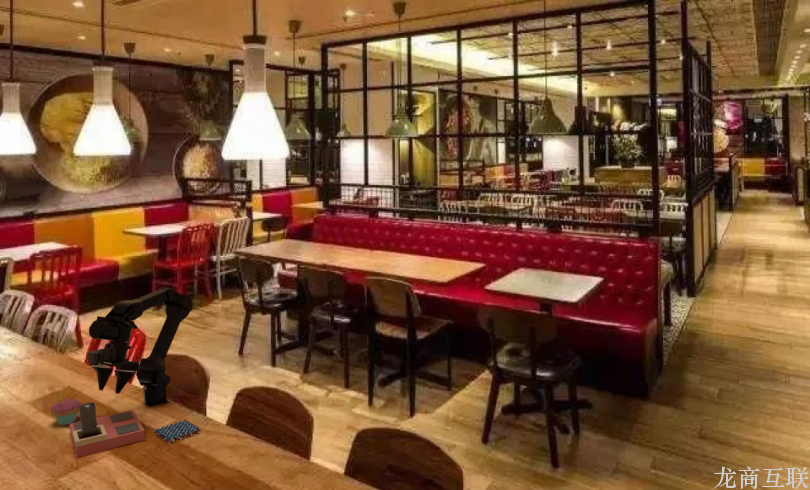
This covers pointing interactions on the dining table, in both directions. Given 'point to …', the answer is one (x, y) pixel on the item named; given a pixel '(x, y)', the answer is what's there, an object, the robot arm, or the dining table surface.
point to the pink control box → (108, 433)
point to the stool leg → (88, 420)
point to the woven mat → (177, 431)
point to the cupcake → (65, 410)
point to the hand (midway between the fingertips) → (108, 391)
